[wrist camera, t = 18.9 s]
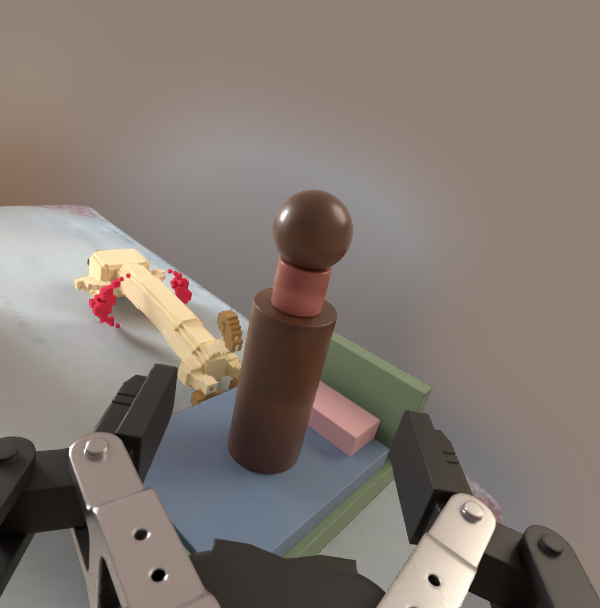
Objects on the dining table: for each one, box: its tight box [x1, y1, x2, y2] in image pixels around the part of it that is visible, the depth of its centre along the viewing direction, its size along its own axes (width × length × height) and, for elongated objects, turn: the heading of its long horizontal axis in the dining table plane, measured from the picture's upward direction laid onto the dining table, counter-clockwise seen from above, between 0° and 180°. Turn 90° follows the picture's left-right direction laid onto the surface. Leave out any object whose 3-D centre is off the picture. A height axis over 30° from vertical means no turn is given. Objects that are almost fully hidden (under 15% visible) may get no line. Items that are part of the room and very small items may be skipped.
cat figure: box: [75, 249, 243, 406], centre depth 43 cm, size 10×9×25 cm
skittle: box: [228, 190, 353, 474], centre depth 25 cm, size 5×5×16 cm
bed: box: [70, 331, 432, 558], centre depth 28 cm, size 12×18×8 cm, turn 139°
